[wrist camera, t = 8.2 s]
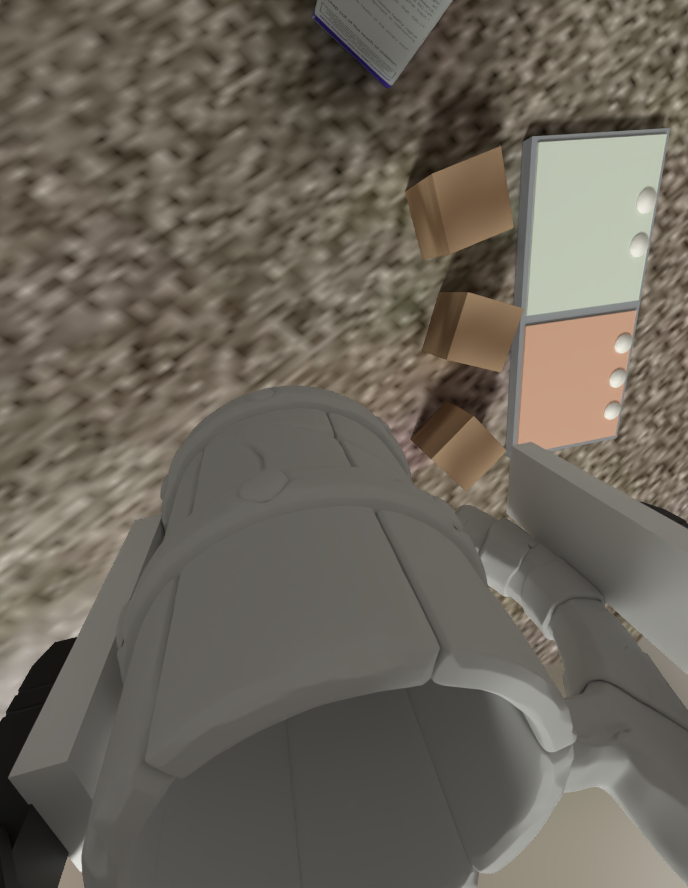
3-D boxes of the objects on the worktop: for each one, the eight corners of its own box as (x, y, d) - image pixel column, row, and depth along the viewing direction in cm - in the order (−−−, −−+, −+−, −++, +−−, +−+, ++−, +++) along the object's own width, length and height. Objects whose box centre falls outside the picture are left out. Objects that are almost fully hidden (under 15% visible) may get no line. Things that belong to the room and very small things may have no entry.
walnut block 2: (438, 292, 30) (468, 292, 26) (488, 306, 31) (524, 308, 27) (421, 350, 31) (446, 359, 27) (469, 362, 32) (501, 372, 28)
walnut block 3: (409, 439, 34) (431, 459, 30) (446, 400, 33) (474, 415, 29) (441, 468, 36) (465, 491, 31) (477, 432, 35) (506, 450, 31)
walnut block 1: (404, 191, 27) (431, 173, 23) (463, 167, 27) (500, 145, 23) (422, 259, 29) (450, 254, 25) (476, 236, 29) (513, 227, 25)
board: (522, 141, 27) (535, 134, 26) (657, 133, 29) (675, 125, 28) (505, 454, 36) (514, 460, 35) (608, 434, 38) (619, 439, 37)
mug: (182, 354, 12) (-952, 1497, 1) (515, 414, 15) (1239, 770, 4) (164, 566, 14) (-138, 1539, 3) (452, 577, 17) (793, 1072, 6)
